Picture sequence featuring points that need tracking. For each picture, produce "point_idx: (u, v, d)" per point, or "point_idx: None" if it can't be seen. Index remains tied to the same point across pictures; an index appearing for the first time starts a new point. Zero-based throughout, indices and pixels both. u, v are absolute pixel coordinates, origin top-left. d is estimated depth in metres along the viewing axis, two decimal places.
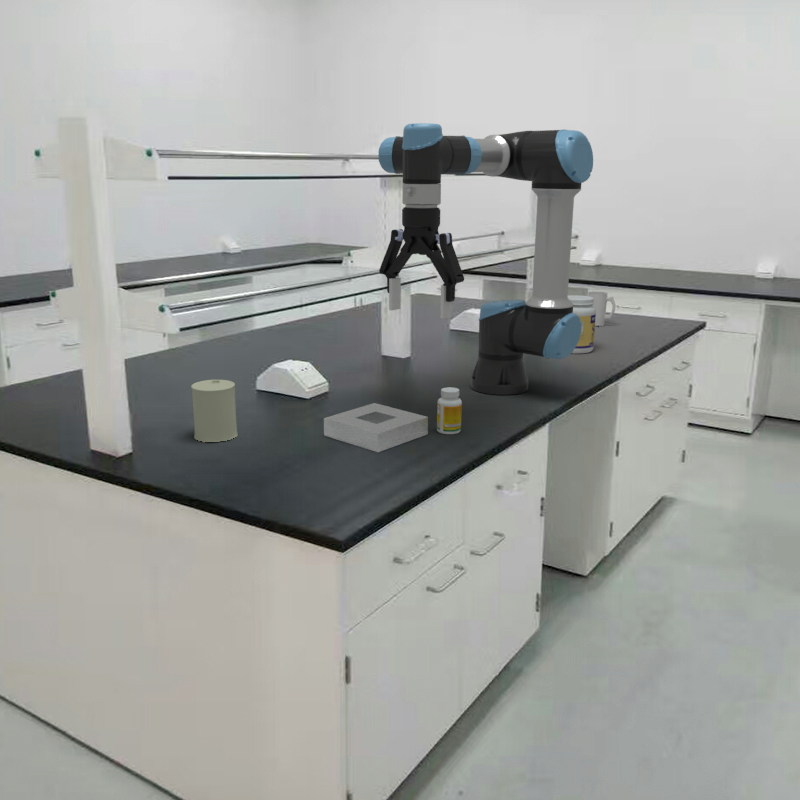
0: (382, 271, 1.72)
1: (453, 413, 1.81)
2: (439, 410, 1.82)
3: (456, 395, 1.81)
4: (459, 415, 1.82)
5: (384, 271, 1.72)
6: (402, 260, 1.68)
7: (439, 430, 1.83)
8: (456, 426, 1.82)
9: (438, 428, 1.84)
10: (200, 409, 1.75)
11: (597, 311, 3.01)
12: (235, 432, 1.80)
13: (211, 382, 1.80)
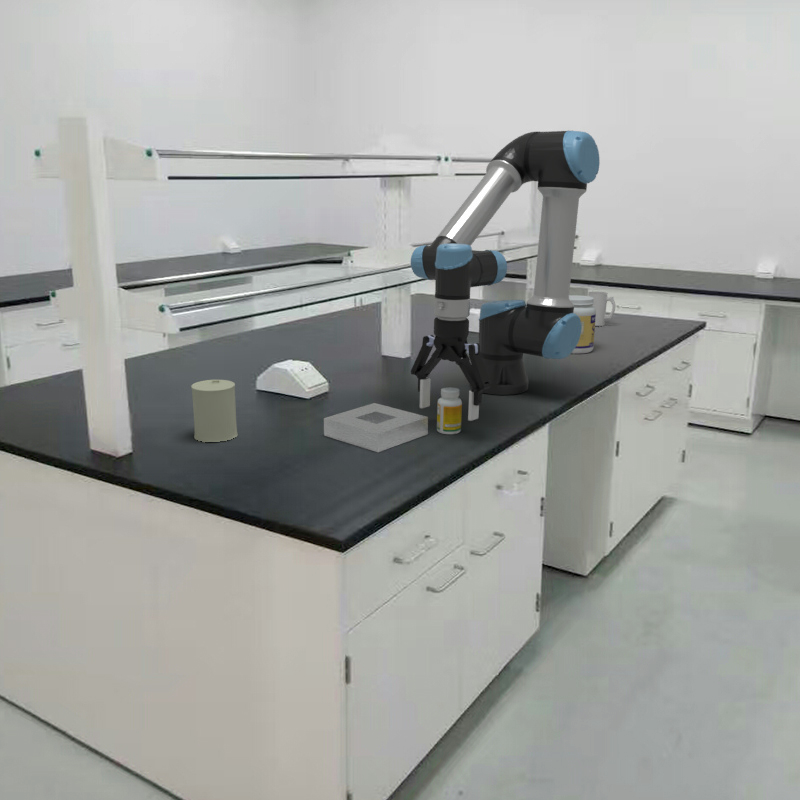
0: (413, 372, 1.86)
1: (453, 413, 1.81)
2: (439, 410, 1.82)
3: (456, 395, 1.81)
4: (459, 415, 1.82)
5: (415, 372, 1.86)
6: (432, 364, 1.83)
7: (439, 430, 1.83)
8: (456, 426, 1.82)
9: (438, 428, 1.84)
10: (200, 409, 1.75)
11: (597, 311, 3.01)
12: (235, 432, 1.80)
13: (211, 382, 1.80)
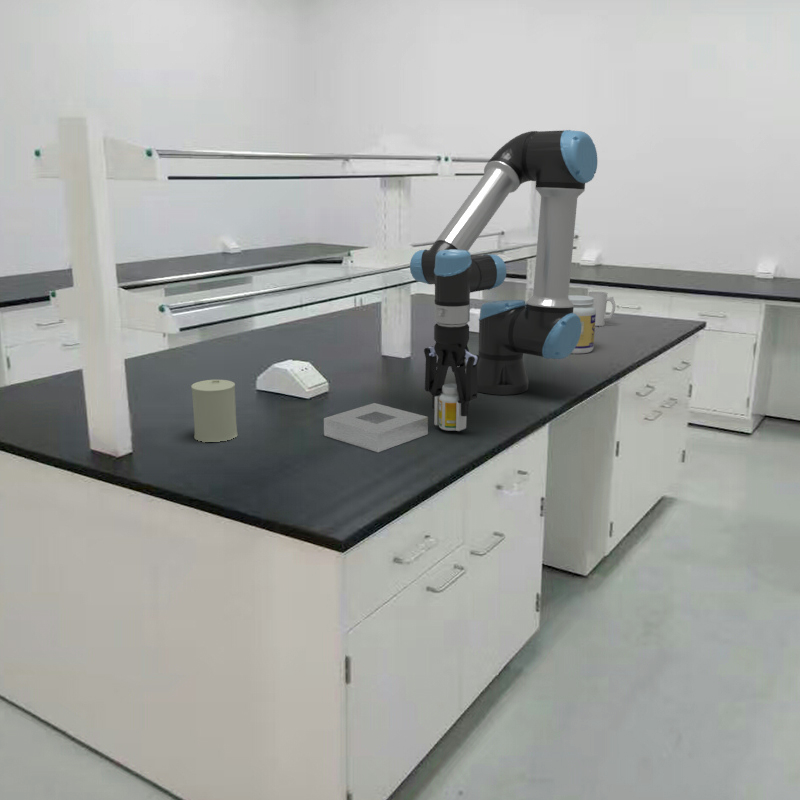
0: (428, 388, 1.85)
1: (455, 409, 1.81)
2: (441, 406, 1.82)
3: (457, 391, 1.81)
4: None
5: (429, 389, 1.85)
6: (441, 375, 1.83)
7: (441, 427, 1.84)
8: None
9: (440, 424, 1.84)
10: (200, 409, 1.75)
11: (597, 311, 3.01)
12: (235, 432, 1.80)
13: (211, 382, 1.80)
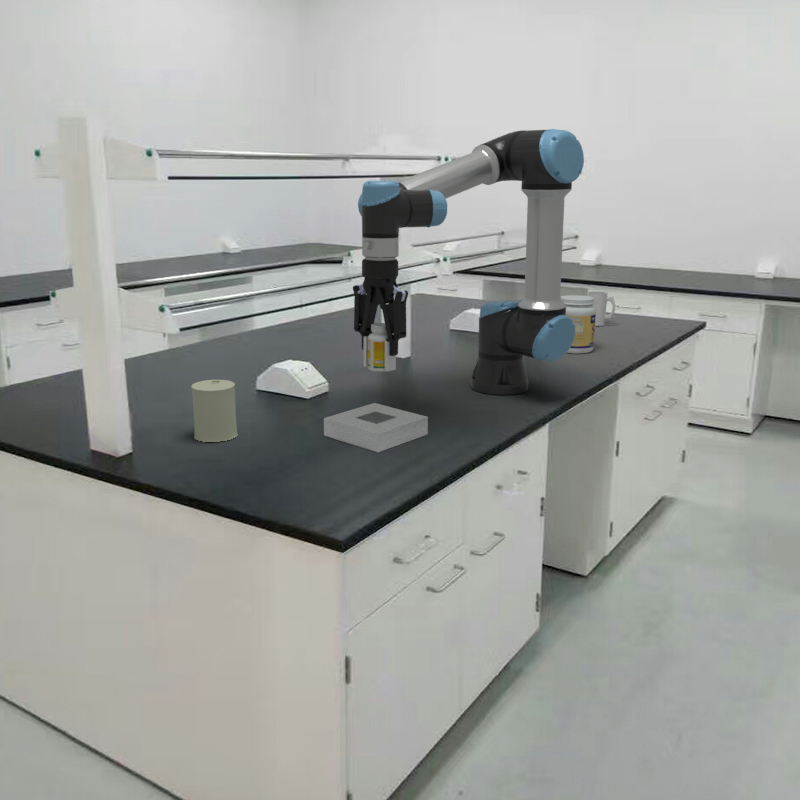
0: (357, 328, 1.78)
1: (383, 349, 1.74)
2: (369, 346, 1.75)
3: None
4: None
5: (359, 329, 1.78)
6: (369, 313, 1.75)
7: (370, 367, 1.76)
8: None
9: (369, 365, 1.77)
10: (200, 409, 1.75)
11: (597, 311, 3.01)
12: (235, 432, 1.80)
13: (211, 382, 1.80)
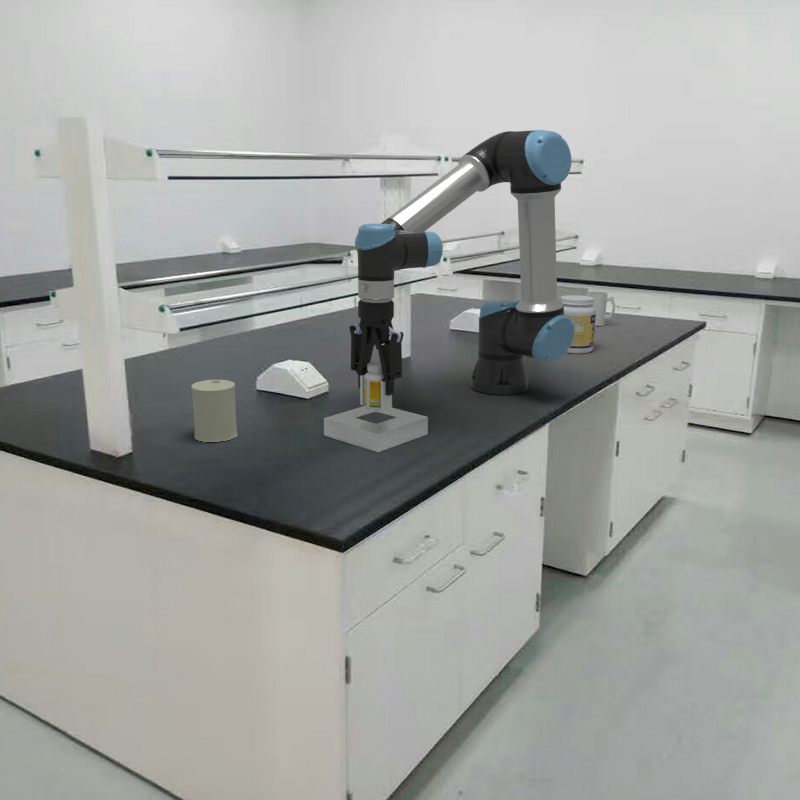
0: (353, 367, 1.81)
1: (379, 388, 1.77)
2: (365, 385, 1.78)
3: None
4: None
5: (355, 368, 1.81)
6: (366, 353, 1.78)
7: (366, 406, 1.79)
8: None
9: (365, 404, 1.79)
10: (200, 409, 1.75)
11: (597, 311, 3.01)
12: (235, 432, 1.80)
13: (211, 382, 1.80)
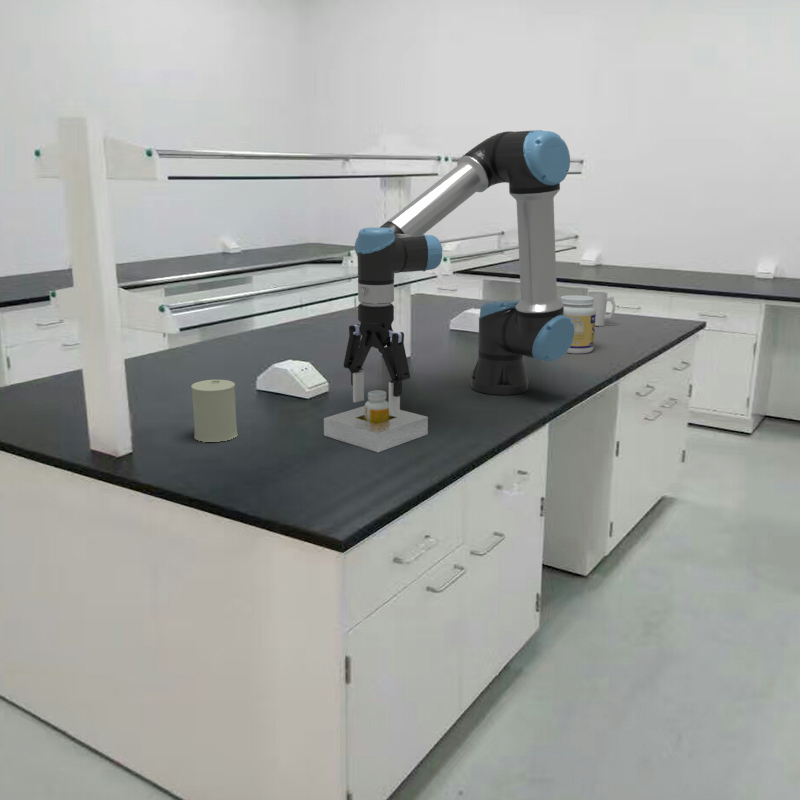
0: (346, 365, 1.82)
1: (380, 417, 1.78)
2: (366, 413, 1.79)
3: (382, 398, 1.78)
4: (386, 418, 1.80)
5: (348, 365, 1.82)
6: (362, 354, 1.79)
7: None
8: None
9: None
10: (200, 409, 1.75)
11: (597, 311, 3.01)
12: (235, 432, 1.80)
13: (211, 382, 1.80)
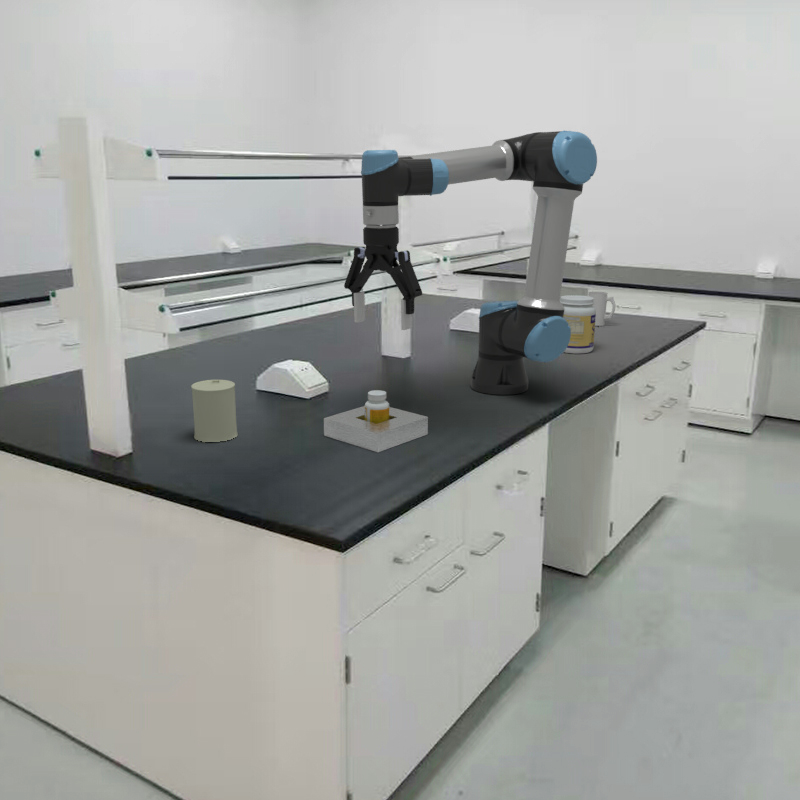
0: (347, 286, 1.84)
1: (380, 417, 1.78)
2: (366, 413, 1.79)
3: (382, 398, 1.78)
4: (386, 418, 1.80)
5: (349, 286, 1.84)
6: (364, 276, 1.81)
7: None
8: None
9: None
10: (200, 409, 1.75)
11: (597, 311, 3.01)
12: (235, 432, 1.80)
13: (211, 382, 1.80)
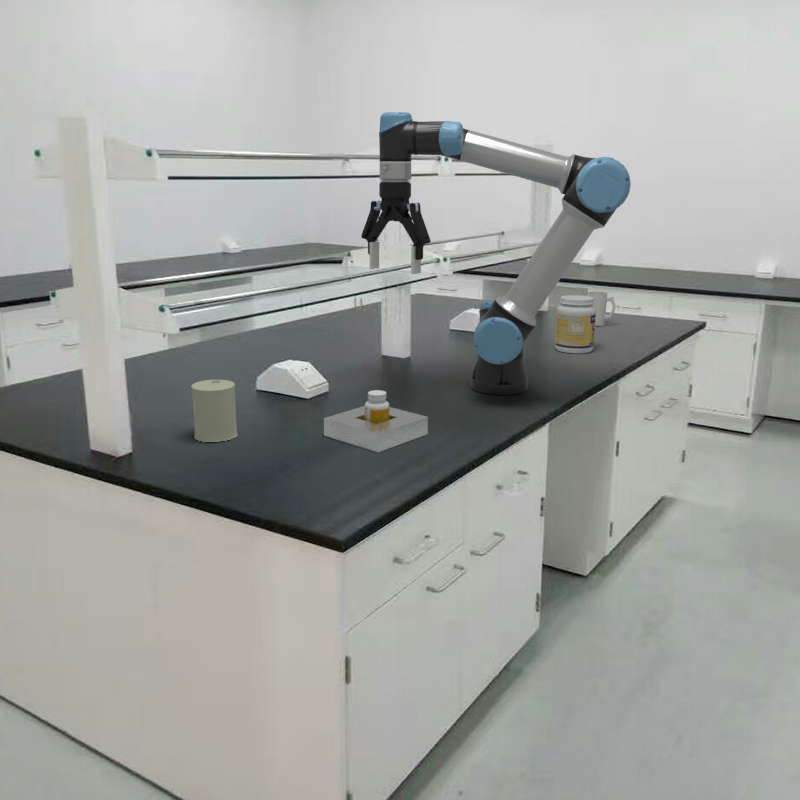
0: (363, 236, 2.06)
1: (380, 417, 1.78)
2: (366, 413, 1.79)
3: (382, 398, 1.78)
4: (386, 418, 1.80)
5: (365, 236, 2.06)
6: (379, 226, 2.03)
7: None
8: None
9: None
10: (200, 409, 1.75)
11: (597, 311, 3.01)
12: (235, 432, 1.80)
13: (211, 382, 1.80)
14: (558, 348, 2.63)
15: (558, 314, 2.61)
